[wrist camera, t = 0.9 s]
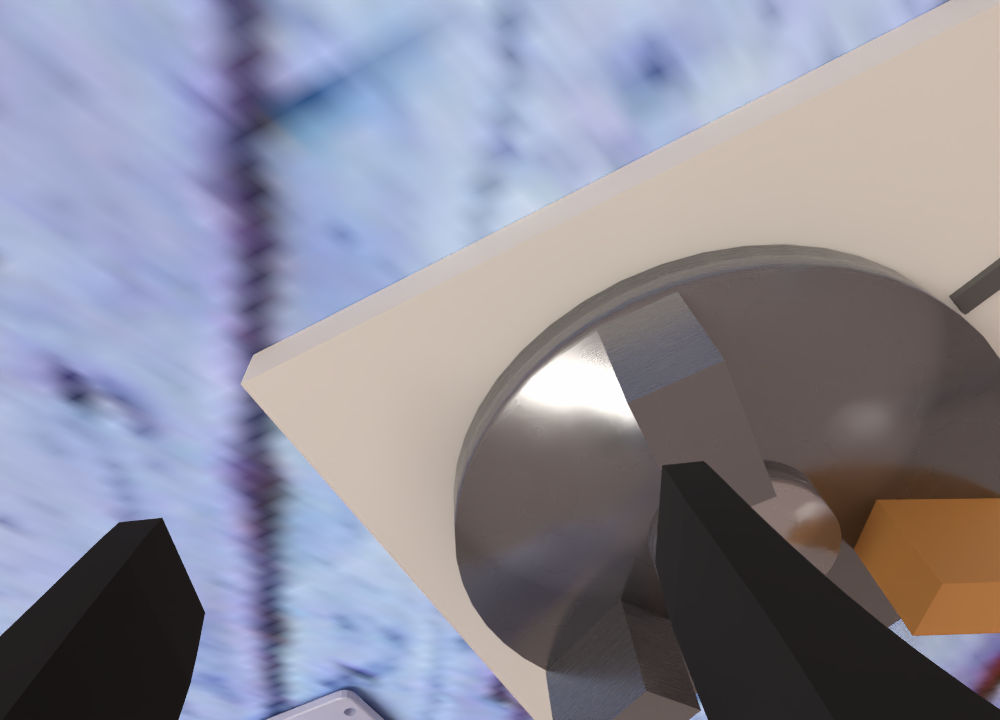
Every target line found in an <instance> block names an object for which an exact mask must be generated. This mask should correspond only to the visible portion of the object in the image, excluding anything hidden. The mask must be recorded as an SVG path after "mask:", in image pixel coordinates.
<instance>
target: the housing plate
mask: <svg viewBox="0 0 1000 720" xmlns="http://www.w3.org/2000/svg"><path fill="white" fill-rule="evenodd" d="M782 244H787V245H798V246H809V247H820V248H827V249H831V250H835V251H840V252H844V253H848V254H852V255H857V256H861V257H863V258H866V259H868V260H871V261H873V262H876V263H878V264H880V265H883V266H885V267H888V268H890V269H893V270H895V271H896V272H898V273H899V274H901V275H903V276H904V277H906V278H907V279H909V280H911V281H912V282H914V283H915V284H917V285H919V286H920V287H922V288H923V289H925V290H926V291H927V292H929V293H930V294H932V295H933V296H934V297H936V298H937V299H939V300H940V301H941V302H943V303H944V304H946V305H947V306H948V307H950V308H951V309H953V310H954V311H955V312H957V313H958V314H960V315H961V316H962V317H963V318H964V319H965V320H966V321H967V322H969V323H970V324H971V325H972V326H973V327H974V328H975V329H976V330H977V331H978V332H979V333H980V334H982V335H983V336H984V337H985V339H986V340H987V342H988V343H989V344H990V346H991V347H992V349H993V350H994V351H995V353H996V354H997V356H998V357H999V358H1000V0H950V1H948V2H946V3H944V4H942V5H940V6H938V7H936V8H934V9H932V10H931V11H929V12H927V13H925V14H923V15H921V16H919V17H917V18H915V19H913V20H911V21H909V22H907V23H905V24H903V25H901V26H899V27H897V28H895V29H893V30H891V31H889V32H887V33H885V34H883V35H881V36H879V37H877V38H875V39H873V40H872V41H870V42H868V43H866V44H864V45H862V46H860V47H858V48H856V49H854V50H852V51H850V52H848V53H846V54H844V55H842V56H840V57H838V58H836V59H834V60H832V61H830V62H828V63H826V64H824V65H822V66H820V67H818V68H816V69H814V70H813V71H811V72H809V73H807V74H805V75H803V76H801V77H799V78H797V79H795V80H793V81H791V82H789V83H787V84H785V85H783V86H781V87H779V88H777V89H775V90H773V91H771V92H769V93H767V94H765V95H763V96H761V97H759V98H757V99H756V100H754V101H752V102H750V103H748V104H746V105H744V106H742V107H740V108H738V109H736V110H734V111H732V112H730V113H728V114H726V115H724V116H722V117H720V118H718V119H716V120H714V121H712V122H710V123H708V124H706V125H704V126H702V127H700V128H698V129H697V130H695V131H693V132H691V133H689V134H687V135H685V136H683V137H681V138H679V139H677V140H675V141H673V142H671V143H669V144H667V145H665V146H663V147H661V148H659V149H657V150H655V151H653V152H651V153H649V154H647V155H645V156H643V157H641V158H640V159H638V160H636V161H634V162H632V163H630V164H628V165H626V166H624V167H622V168H620V169H618V170H616V171H614V172H612V173H610V174H608V175H606V176H604V177H602V178H600V179H598V180H596V181H594V182H592V183H590V184H588V185H586V186H584V187H582V188H581V189H579V190H577V191H575V192H573V193H571V194H569V195H567V196H565V197H563V198H561V199H559V200H557V201H555V202H553V203H551V204H549V205H547V206H545V207H543V208H541V209H539V210H537V211H535V212H533V213H531V214H529V215H527V216H525V217H524V218H522V219H520V220H518V221H516V222H514V223H512V224H510V225H508V226H506V227H504V228H502V229H500V230H498V231H496V232H494V233H492V234H490V235H488V236H486V237H484V238H482V239H480V240H478V241H476V242H474V243H472V244H470V245H468V246H466V247H465V248H463V249H461V250H459V251H457V252H455V253H453V254H451V255H449V256H447V257H445V258H443V259H441V260H439V261H437V262H435V263H433V264H431V265H429V266H427V267H425V268H423V269H421V270H419V271H417V272H415V273H413V274H411V275H409V276H407V277H406V278H404V279H402V280H400V281H398V282H396V283H394V284H392V285H390V286H388V287H386V288H384V289H382V290H380V291H378V292H376V293H374V294H372V295H370V296H368V297H366V298H364V299H362V300H360V301H358V302H356V303H354V304H352V305H350V306H349V307H347V308H345V309H343V310H341V311H339V312H337V313H335V314H333V315H331V316H329V317H327V318H325V319H323V320H321V321H319V322H317V323H315V324H313V325H311V326H309V327H307V328H305V329H303V330H301V331H299V332H297V333H295V334H293V335H291V336H290V337H288V338H286V339H284V340H282V341H280V342H278V343H276V344H274V345H272V346H270V347H268V348H266V349H264V350H262V351H260V352H258V353H256V354H254V355H253V357H252V359H251V362H250V364H249V366H248V368H247V371H246V373H245V375H244V377H243V380H242V382H241V385H242V386H243V388H244V389H245V390H246V391H247V392H248V393H249V394H250V396H251V397H252V398H253V399H254V400H255V401H256V402H257V404H258V405H259V406H260V407H261V408H262V409H263V410H264V412H265V413H266V414H267V415H268V416H269V417H270V418H271V420H272V421H273V422H274V423H275V424H276V425H277V426H278V428H279V429H280V430H281V431H282V432H283V433H284V434H285V436H286V437H287V438H288V439H289V440H290V441H291V442H292V444H293V445H294V446H295V447H296V448H297V449H298V450H299V452H300V453H301V454H302V455H303V456H304V457H305V458H306V460H307V461H308V462H309V463H310V464H311V465H312V466H313V468H314V469H315V470H316V471H317V472H318V473H319V474H320V476H321V477H322V478H323V479H324V480H325V481H326V482H327V484H328V485H329V486H330V487H331V488H332V489H333V490H334V492H335V493H336V494H337V495H338V496H339V497H340V498H341V500H342V501H343V502H344V503H345V504H346V505H347V506H348V508H349V509H350V510H351V511H352V512H353V513H354V514H355V516H356V517H357V518H358V519H359V520H360V521H361V522H362V524H363V525H364V526H365V527H366V528H367V529H368V530H369V532H370V533H371V534H372V535H373V536H374V537H375V538H376V540H377V541H378V542H379V543H380V544H381V545H382V546H383V548H384V549H385V550H386V551H387V552H388V553H389V554H390V556H391V557H392V558H393V559H394V560H395V561H396V562H397V564H398V565H399V566H400V567H401V568H402V569H403V570H404V572H405V573H406V574H407V575H408V576H409V577H410V578H411V580H412V581H413V582H414V583H415V584H416V585H417V586H418V588H419V589H420V590H421V591H422V592H423V593H424V594H425V596H426V597H427V598H428V599H429V600H430V601H431V602H432V604H433V605H434V606H435V607H436V608H437V609H438V610H439V612H440V613H441V614H442V615H443V616H444V617H445V618H446V620H447V621H448V622H449V623H450V624H451V625H452V626H453V628H454V629H455V630H456V631H457V632H458V633H459V634H460V636H461V637H462V638H463V639H464V640H465V641H466V642H467V644H468V645H469V646H470V647H471V648H472V649H473V650H474V652H475V653H476V654H477V655H478V656H479V657H480V658H481V660H482V661H483V662H484V663H485V664H486V665H487V666H488V667H489V669H490V670H491V671H492V672H493V673H494V674H495V675H496V677H497V678H498V679H499V680H500V681H501V682H502V683H503V685H504V686H505V687H506V688H507V689H508V690H509V691H510V693H511V694H512V695H513V696H514V697H515V698H516V699H517V701H518V702H519V703H520V704H521V705H522V706H523V707H524V709H525V710H526V711H527V712H528V713H529V714H530V715H531V717H532V718H533V719H534V720H553V719H552V712H551V705H550V699H549V692H548V685H547V679H546V670H544V669H542V668H540V667H539V666H537V665H535V664H533V663H531V662H530V661H528V660H526V659H524V658H523V657H521V656H520V655H519V654H517V653H516V652H515V651H513V650H512V649H511V648H509V647H508V646H507V645H506V644H504V643H503V642H502V641H501V640H500V639H499V638H498V637H497V636H496V635H495V634H494V633H493V632H492V631H491V630H490V629H489V628H488V627H487V626H486V624H485V623H484V621H483V620H482V618H481V617H480V615H479V614H478V613H477V611H476V610H475V608H474V607H473V605H472V603H471V601H470V599H469V597H468V594H467V592H466V590H465V588H464V586H463V583H462V580H461V576H460V572H459V568H458V564H457V560H456V546H455V527H454V494H453V492H454V483H455V475H456V466H457V462H458V458H459V455H460V452H461V448H462V445H463V441H464V438H465V435H466V433H467V431H468V429H469V426H470V424H471V422H472V420H473V418H474V416H475V414H476V411H477V409H478V407H479V406H480V404H481V403H482V401H483V400H484V398H485V397H486V395H487V393H488V392H489V390H490V389H491V387H492V386H493V384H494V383H495V381H496V380H497V378H498V377H499V376H500V375H501V374H502V373H503V371H504V370H505V369H506V368H507V367H508V366H509V364H510V363H511V362H512V361H513V360H514V359H515V357H516V356H517V355H518V354H519V353H520V352H521V351H522V350H523V349H524V348H525V347H526V346H527V345H528V344H529V343H531V342H532V341H533V340H534V339H535V338H536V337H537V336H538V335H539V334H540V333H542V332H543V331H544V330H545V329H546V328H547V327H548V326H549V325H551V324H552V323H553V322H555V321H556V320H558V319H559V318H560V317H562V316H563V315H565V314H566V313H568V312H569V311H570V310H572V309H573V308H575V307H576V306H577V305H579V304H580V303H582V302H583V301H585V300H587V299H588V298H590V297H592V296H594V295H596V294H598V293H599V292H601V291H603V290H605V289H607V288H608V287H610V286H612V285H614V284H616V283H618V282H619V281H621V280H624V279H626V278H629V277H631V276H634V275H636V274H639V273H641V272H643V271H646V270H648V269H651V268H653V267H656V266H658V265H660V264H664V263H668V262H671V261H675V260H678V259H682V258H685V257H689V256H692V255H696V254H699V253H703V252H710V251H716V250H722V249H728V248H734V247H741V246H755V245H782Z"/></svg>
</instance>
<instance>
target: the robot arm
mask: <svg viewBox="0 0 1000 720" xmlns="http://www.w3.org/2000/svg"><path fill="white" fill-rule="evenodd" d="M655 565H656V569H657V573H658V577H659V581H660V584H661V588H662V592H663V596H664V600H665V603H666V607H667V611H668V614H669V618H670V621H671V625H672V629H673V631H674V634H675V637H676V639H677V642H678V644H679V647H680V650H681V652H682V655H683V657H684V660H685V662H686V665H687V668H688V670H689V673H690V675H691V678H692V680H693V683H694V685H695V688H696V691H697V693H698V696H699V698H700V701H701V703H702V706H703V708H704V711H705V713H706V716H707V718H708V720H1000V709H999V708H997V707H996V706H994V705H993V704H991V703H990V702H988V701H987V700H985V699H984V698H982V697H981V696H979V695H978V694H976V693H975V692H974V691H972V690H971V689H969V688H968V687H967V686H965V685H964V684H962V683H961V682H960V681H958V680H957V679H956V678H954V677H953V676H951V675H950V674H949V673H947V672H946V671H944V670H943V669H942V668H940V667H939V666H938V665H936V664H935V663H933V662H932V661H931V660H929V659H928V658H926V657H925V656H924V655H922V654H921V653H920V652H918V651H917V650H916V649H914V648H913V647H912V646H910V645H909V644H908V643H907V642H905V641H904V640H903V639H901V638H900V637H899V636H898V635H896V634H895V633H894V632H893V631H891V630H890V629H889V628H887V627H886V626H885V625H884V624H882V623H881V622H880V621H879V620H878V619H876V618H875V617H874V616H873V615H871V614H870V613H869V612H868V611H867V610H865V609H864V608H863V607H862V606H861V605H859V604H858V603H857V602H856V601H854V600H853V599H852V598H851V597H850V596H848V595H847V594H846V593H845V592H844V591H843V590H841V589H840V588H839V587H838V586H837V585H836V584H834V583H833V582H832V581H831V580H830V579H829V578H827V577H826V576H825V575H824V574H823V573H822V572H821V571H820V570H819V569H817V568H816V567H815V566H814V565H813V564H812V563H811V562H810V561H809V560H807V559H806V558H805V557H804V556H803V555H802V554H801V553H800V552H799V551H797V550H796V549H795V548H794V547H793V546H792V545H791V544H790V543H789V542H787V541H786V540H785V539H784V538H783V537H782V536H781V535H780V534H779V533H778V532H777V531H776V530H775V529H774V528H773V527H771V526H770V525H769V524H768V523H767V522H766V521H765V520H764V519H763V518H762V517H761V516H760V515H759V514H758V513H757V512H756V511H755V510H754V509H753V508H752V507H751V506H750V505H749V504H748V503H747V502H746V501H745V500H744V499H743V498H741V497H740V496H739V495H738V494H737V493H736V492H735V491H734V490H733V489H732V488H731V487H730V486H729V485H728V484H727V483H726V482H725V481H724V480H723V479H722V478H721V477H720V476H719V475H718V474H717V473H716V472H715V471H714V470H713V469H712V468H711V467H710V466H709V465H708V464H707V463H705V462H704V461H698V462H688V463H679V464H669V465H662V474H661V488H660V501H659V515H658V529H657V542H656V556H655ZM204 615H205V612H204V609H203V607H202V605H201V603H200V600H199V598H198V596H197V594H196V592H195V589H194V587H193V585H192V583H191V581H190V578H189V576H188V574H187V572H186V569H185V567H184V565H183V563H182V561H181V558H180V556H179V554H178V552H177V550H176V547H175V545H174V543H173V541H172V538H171V536H170V534H169V532H168V530H167V527H166V525H165V523H164V521H163V519H162V518H157V519H147V520H138V521H128V522H119V523H118V524H117V525H116V526H115V527H114V528H112V529H111V530H110V531H109V532H108V533H107V534H106V535H105V536H104V537H103V538H102V539H100V540H99V541H98V542H97V543H96V544H95V545H94V546H93V547H92V548H91V549H90V550H89V551H88V552H87V553H86V554H85V555H84V556H83V557H82V558H81V559H80V560H79V561H78V562H77V563H75V564H74V565H73V566H72V567H71V568H70V569H69V570H68V571H67V572H66V573H65V574H64V575H63V576H62V577H61V578H60V579H59V580H58V581H57V582H56V583H55V584H54V585H53V586H52V587H51V588H50V589H49V590H48V591H47V592H46V593H45V594H44V595H43V596H42V597H41V598H40V599H39V600H38V601H37V602H36V603H35V604H33V605H32V606H31V607H30V608H29V609H28V610H27V611H26V612H25V613H24V614H23V615H22V616H21V617H20V618H19V619H18V620H17V621H16V622H15V623H14V624H13V625H12V626H11V627H10V628H9V629H7V630H6V631H5V632H4V633H3V634H2V635H1V636H0V720H178V719H179V716H180V713H181V710H182V708H183V705H184V702H185V698H186V695H187V692H188V689H189V686H190V683H191V678H192V674H193V669H194V665H195V660H196V656H197V651H198V646H199V641H200V636H201V630H202V625H203V620H204ZM266 720H384V719H383V718H382V717H381V716H380V715H378V714H377V713H376V712H375V711H374V710H373V709H372V708H371V707H370V706H369V705H367V704H366V703H365V702H364V701H363V700H362V699H361V698H360V697H359V696H358V695H356V694H355V693H354V692H352V691H350V690H340V691H337V692H334V693H332V694H329V695H327V696H324V697H321V698H319V699H316V700H314V701H311V702H309V703H306V704H304V705H301V706H299V707H296V708H294V709H291V710H289V711H286V712H284V713H281V714H278V715H276V716H273V717H271V718H268V719H266Z"/></svg>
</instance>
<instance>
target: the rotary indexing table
mask: <svg viewBox="0 0 1000 720" xmlns="http://www.w3.org/2000/svg"><path fill="white" fill-rule="evenodd" d="M698 461H704V462H705V463H707V464H708V465H709V466H710V467H711V468H712V469H713V470H714V471H715V472H716V473H717V474H718V475H719V476H720V477H721V478H722V479H723V480H724V481H725V482H726V483H727V484H728V485H729V486H730V487H731V488H732V489H733V490H734V491H735V492H736V493H737V494H738V495H739V496H740V497H741V498H743V499H744V500H745V501H746V502H747V503H748V504H749V505H750V506H751V507H752V508H753V509H754V510H755V511H756V512H757V513H758V514H759V515H760V516H761V517H762V518H763V519H764V520H765V521H766V522H767V523H768V524H769V525H770V526H771V527H773V528H774V529H775V530H776V531H777V532H778V533H779V534H780V535H781V536H782V537H783V538H784V539H785V540H786V541H787V542H789V543H790V544H791V545H792V546H793V547H794V548H795V549H796V550H797V551H799V552H800V553H801V554H802V555H803V556H804V557H805V558H806V559H807V560H809V561H810V562H811V563H812V564H813V565H814V566H815V567H816V568H817V569H819V570H820V571H821V572H822V573H823V574H824V575H825V576H826V577H827V578H829V579H830V580H831V581H832V582H833V583H834V584H836V585H837V586H838V587H839V588H840V589H841V590H843V591H844V592H845V593H846V594H847V595H848V596H850V597H851V598H852V599H853V600H854V601H856V602H857V603H858V604H859V605H861V606H862V607H863V608H864V609H865V610H867V611H868V612H869V613H870V614H871V615H873V616H874V617H875V618H876V619H878V620H879V621H880V622H881V623H882V624H884V625H885V626H886V627H887V628H888V627H889V626H891V625H892V624H893V623H895V622H896V621H898V620H899V619H902V621H903V622H904V623H905V625H906V626H907V628H908V629H909V631H910V632H911V634H912V635H913V636H919V635H950V634H980V633H1000V358H999V357H998V356H997V354H996V353H995V351H994V350H993V349H992V347H991V346H990V344H989V343H988V342H987V340H986V339H985V337H984V336H983V335H982V334H980V333H979V332H978V331H977V330H976V329H975V328H974V327H973V326H972V325H971V324H970V323H969V322H967V321H966V320H965V319H964V318H963V317H962V316H961V315H960V314H958V313H957V312H955V311H954V310H953V309H951V308H950V307H948V306H947V305H946V304H944V303H943V302H941V301H940V300H939V299H937V298H936V297H934V296H933V295H932V294H930V293H929V292H927V291H926V290H925V289H923V288H922V287H920V286H919V285H917V284H915V283H914V282H912V281H911V280H909V279H907V278H906V277H904V276H903V275H901V274H899V273H898V272H896V271H895V270H893V269H890V268H888V267H885V266H883V265H880V264H878V263H876V262H873V261H871V260H868V259H866V258H863V257H861V256H857V255H852V254H848V253H844V252H840V251H835V250H831V249H827V248H820V247H809V246H798V245H787V244H782V245H755V246H741V247H734V248H728V249H722V250H716V251H710V252H703V253H699V254H696V255H692V256H689V257H685V258H682V259H678V260H675V261H671V262H668V263H664V264H660V265H658V266H656V267H653V268H651V269H648V270H646V271H643V272H641V273H639V274H636V275H634V276H631V277H629V278H626V279H624V280H621V281H619V282H618V283H616V284H614V285H612V286H610V287H608V288H607V289H605V290H603V291H601V292H599V293H598V294H596V295H594V296H592V297H590V298H588V299H587V300H585V301H583V302H582V303H580V304H579V305H577V306H576V307H575V308H573V309H572V310H570V311H569V312H568V313H566V314H565V315H563V316H562V317H560V318H559V319H558V320H556V321H555V322H553V323H552V324H551V325H549V326H548V327H547V328H546V329H545V330H544V331H543V332H542V333H540V334H539V335H538V336H537V337H536V338H535V339H534V340H533V341H532V342H531V343H529V344H528V345H527V346H526V347H525V348H524V349H523V350H522V351H521V352H520V353H519V354H518V355H517V356H516V357H515V359H514V360H513V361H512V362H511V363H510V364H509V366H508V367H507V368H506V369H505V370H504V371H503V373H502V374H501V375H500V376H499V377H498V378H497V380H496V381H495V383H494V384H493V386H492V387H491V389H490V390H489V392H488V393H487V395H486V397H485V398H484V400H483V401H482V403H481V404H480V406H479V407H478V409H477V411H476V414H475V416H474V418H473V420H472V422H471V424H470V426H469V429H468V431H467V433H466V435H465V438H464V441H463V445H462V448H461V452H460V455H459V458H458V462H457V466H456V475H455V483H454V492H453V494H454V527H455V546H456V560H457V564H458V568H459V572H460V576H461V580H462V583H463V586H464V588H465V590H466V592H467V594H468V597H469V599H470V601H471V603H472V605H473V607H474V608H475V610H476V611H477V613H478V614H479V615H480V617H481V618H482V620H483V621H484V623H485V624H486V626H487V627H488V628H489V629H490V630H491V631H492V632H493V633H494V634H495V635H496V636H497V637H498V638H499V639H500V640H501V641H502V642H503V643H504V644H506V645H507V646H508V647H509V648H511V649H512V650H513V651H515V652H516V653H517V654H519V655H520V656H521V657H523V658H524V659H526V660H528V661H530V662H531V663H533V664H535V665H537V666H539V667H540V668H542V669H544V670H546V679H547V685H548V692H549V699H550V705H551V712H552V719H553V720H689V719H690V718H692V717H693V716H694V715H695V714H697V713H698V712H699V711H700V710H701V709H700V706H699V703H698V700H697V698H696V695H695V694H697V691H696V688H695V685H694V683H693V680H692V678H691V675H690V673H689V670H688V668H687V665H686V662H685V660H684V657H683V655H682V652H681V650H680V647H679V644H678V642H677V639H676V637H675V634H674V631H673V629H672V625H671V621H670V618H669V614H668V611H667V607H666V603H665V600H664V596H663V592H662V588H661V584H660V581H659V577H658V573H657V569H656V565H655V556H656V542H657V529H658V515H659V501H660V488H661V474H662V465H669V464H679V463H688V462H698Z"/></svg>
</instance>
